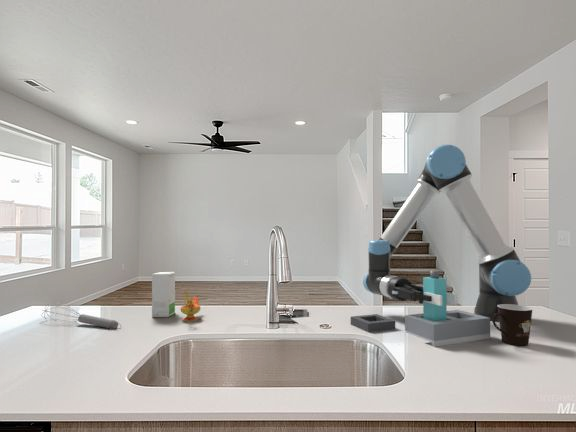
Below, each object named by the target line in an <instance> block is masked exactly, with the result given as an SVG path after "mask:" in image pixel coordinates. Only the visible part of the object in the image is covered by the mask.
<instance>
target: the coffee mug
mask: <svg viewBox="0 0 576 432" xmlns="http://www.w3.org/2000/svg"><path fill="white" fill-rule="evenodd" d="M497 308H498V313H496V314H495V315H494V316H493V320H491V321H492V325H493V326H494V327H495V329H497V330H498V331H499V332H500V335H501V342H502V343H503V344H505V345H508V346H514V347H528V346H529V342H530V341H529V340H530V333H531V324H532V317H533V316H532V315H533V308H532V307H531V306H527V305H519V304H518V305H512V304H501V305H497ZM498 315H499V321H498V322H499V326H498V325H497V323H496V321H495V318H496V317H497V316H498Z"/></svg>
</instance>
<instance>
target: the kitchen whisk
mask: <svg viewBox="0 0 576 432" xmlns="http://www.w3.org/2000/svg"><path fill="white" fill-rule="evenodd" d="M58 305H59V303H58V302H57V303H55V302H53V303H51V304H50V305H48V304H47V305H45V306H44V310H43V309H41V311H43V312H42V313H41V317H42V318H44V319H45V320H49V319H51V320H53V321H59V319H58V318H57V319H54V318H52V317H51V316H50V315H49V313H50V314H51V313H52V314H56V315H61V316H66V317H72V318H74V320H73V321H74V322H75V323H76V322H79V323H81V324H86V325H91V326H97V327H101V328H106V329H110V328H111V329H110V330H112V329H114V330H115V329H117V328H119V325H120V328H119V330H120V329H121V327H122V325H121V324H120V323H119V322H118V321H116V320H114V319H109V318H104V317H98V316H94V315H89V314H80V313H79V312H77V310H75V309H73V308H71V307H69V306H67V305H66V304H62V303H60V305H61V306H65V307H61V306H58ZM50 306H52V307H50ZM53 306H54V307H53ZM49 307H50V308H49ZM54 308H55V309H56V308H61V309H63V310H65V311H68V312H70V313H72V314H75V315H77V316H73V315H70V314H65V313H59V312H54V311H50V310H52V309H54ZM43 314H44V317H43ZM45 314H46V315H47V316H48V317H49V318H48V317H46V315H45ZM75 318H77V319H75ZM74 322H73V323H74Z"/></svg>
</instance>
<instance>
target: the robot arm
mask: <svg viewBox="0 0 576 432" xmlns="http://www.w3.org/2000/svg"><path fill="white" fill-rule="evenodd" d="M466 162H467V161H466V156H465V153H464V152H463V151H462V150H461V149H460V148H459V147H458V146H455V145H453V144H441V145H438V146H436V147H435V148H434V149H432V150H431V151H430V153H429V154H428V155H427V158H426V162H425V164H424V168H423V169H422V172H421V173H420V175H419V177H418V178H417V184H416V186H415V187H414V188H413V190H412V191H411V193H410V194H409V195H408V197H407V199H406V200H405V201H404V203H403V204H402V206H401V207H400V209H399V210H398V211H397V213H396V214H395V215H394V217H393V219H392V220H391V222H390V223H389V224H388V225H387V227H386V229H385V230H384V231H383V233H382V235H381V236H380V237H379V239H371V240H369V241H368V249H367V251H368V271H367V273H366V274H364V277H363V279H362V284H363V287H364V289H365V290H366V291H368V292H370V293H372V294H374V295H379V296H383V297H387V298H389V300H396V301H401V302H403V301H406V300H409V301H412V302H416V301H418V303H419V304H422V305H423V300H424V302H428V303H432V304H435V305H439V306H442V296H441V295H436V294H432V293H428V292H424V294H423V285H420V286H419V285H417V284H412V283H411V281H410V280H409V279H408V278H406V277H400V276H396V275H391V269H390V268H391V257H392V256H393V254H395V252H396V250H397V249H398V247H399V246H400V244H401V243H402V242H403V240H404V239H405V237H406V236H407V235H408V233H409V232H410V231H411V229H412V228H413V227H414V225H415V223H416V222H417V221H418V219H419V218H420V217H421V216H422V213H424V211H425V210H426V208H427V207H428V205H429V204H430V203H431V201H432V200H433V198H434V197H435V196H436V195H438V194H440V193H441V192H442V193H444V194H445V195H446V197H447V198H448V200H449V202H450V204H451V205H452V207H453V210H454V212H455V213H456V214H457V217H458V219H459V220H460V223H462V226H463V228H464V230H465V231H466V233H467V235H468V237H469V238H470V240H471V243H472V244H473V246H474V248H475V250H476V252H477V253H478V255H479V256H478V261H477V263H478V276H479V277H478V279H479V281H478V282H479V285H478V287H479V288H478V289H479V290H478V291H479V295H478V298H477V301H476V304H475V307H474V309H473V310H474V311H473V314H477V315H481V316H484V317H488V318H490V321H492V320H493V316H494V315H495V314H496V313H498V308H497V305H501V304H512V305H519V302H518V300H517V296H519V295H521V294H523V293H525V292H526V291H527V290H528V288H529V287H530V286H531V282H532V273H531V271H530V269H529V268H528V266H527V265H526V264H525V263H524V262H522V261H521V260H520V258H519V256H518V254H517V252H516V250H515V249H514V248H513V247H512V246H509V245H507V244H506V243H505V241H504V239H503V238H502V236H501V235H500V232H499V231H498V229H497V227H496V225H495V224H494V222H493V220H492V218H491V216H490V215H489V213H488V211H487V209H486V208H485V205H484V203H483V202H482V200H481V199H480V196H479V194H478V193H477V191H476V190H475V187H474V186H473V184H472V183H471V182H472V181H471V178H472V177H473V175H472V172H471V171H470V169H469V167H468V165H467V163H466ZM457 299H458V298H457V294H455V293H450V292H446V304H447V303H448V304H452V305H457V304H458V303H457ZM495 322H499V315H498V316H497V317H496V318H495Z"/></svg>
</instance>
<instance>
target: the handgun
mask: <svg viewBox="0 0 576 432" xmlns="http://www.w3.org/2000/svg"><path fill="white" fill-rule="evenodd" d="M293 309H294V311H293V316H292V317H290V316H289V315H288V314H287V315H279V322H280V323H279V324H298V322H297V321H296V320H294V319H297V318H308V309H307V308H304V309H303V308H301V309H300V308H293Z"/></svg>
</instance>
